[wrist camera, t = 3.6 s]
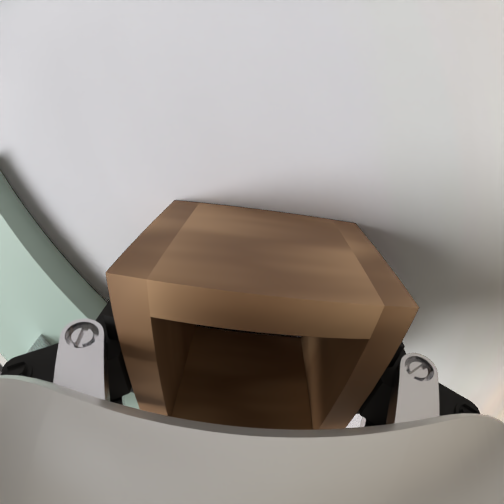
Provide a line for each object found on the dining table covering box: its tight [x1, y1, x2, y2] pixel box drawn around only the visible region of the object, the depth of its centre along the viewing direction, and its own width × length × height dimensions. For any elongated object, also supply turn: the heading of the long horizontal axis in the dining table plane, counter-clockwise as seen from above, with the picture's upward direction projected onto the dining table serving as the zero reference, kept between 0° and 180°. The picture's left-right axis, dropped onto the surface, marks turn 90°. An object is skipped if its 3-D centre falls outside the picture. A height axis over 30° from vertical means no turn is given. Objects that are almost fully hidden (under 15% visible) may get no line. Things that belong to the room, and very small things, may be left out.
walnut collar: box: [106, 200, 419, 430], centre depth 9 cm, size 6×6×5 cm
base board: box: [0, 171, 139, 409], centre depth 13 cm, size 20×12×2 cm, turn 38°
